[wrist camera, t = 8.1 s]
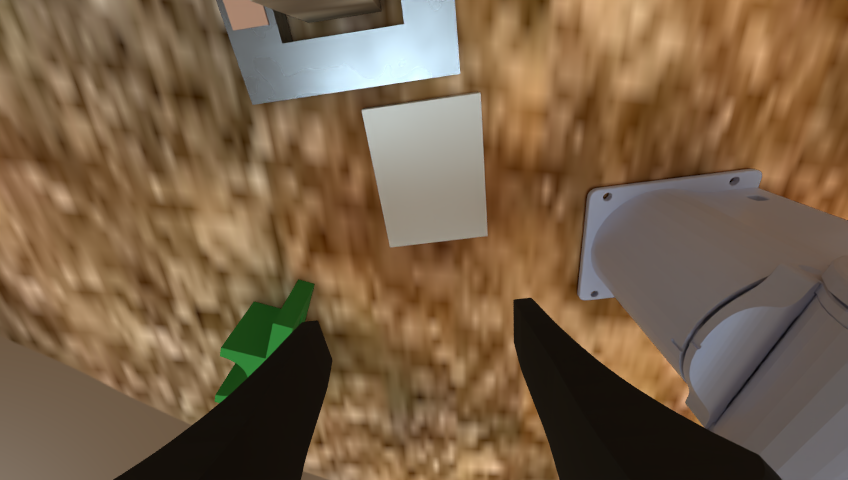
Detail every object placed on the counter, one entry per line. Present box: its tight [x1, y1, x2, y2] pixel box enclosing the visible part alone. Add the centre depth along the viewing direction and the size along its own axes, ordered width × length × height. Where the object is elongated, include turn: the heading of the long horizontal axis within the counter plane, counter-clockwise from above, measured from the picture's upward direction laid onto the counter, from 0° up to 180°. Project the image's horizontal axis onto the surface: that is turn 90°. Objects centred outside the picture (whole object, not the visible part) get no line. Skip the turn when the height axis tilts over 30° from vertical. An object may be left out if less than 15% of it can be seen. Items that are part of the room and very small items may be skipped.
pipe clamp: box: [215, 279, 315, 403], centre depth 23 cm, size 11×4×5 cm, turn 160°
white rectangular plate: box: [362, 92, 488, 247], centre depth 19 cm, size 6×8×1 cm
